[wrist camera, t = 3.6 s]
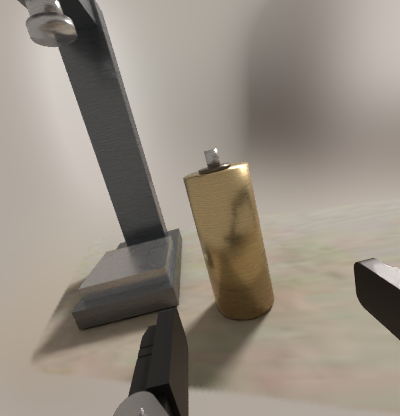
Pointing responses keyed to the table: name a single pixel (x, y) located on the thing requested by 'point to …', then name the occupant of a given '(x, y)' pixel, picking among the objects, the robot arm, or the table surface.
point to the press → (112, 169)
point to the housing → (230, 237)
